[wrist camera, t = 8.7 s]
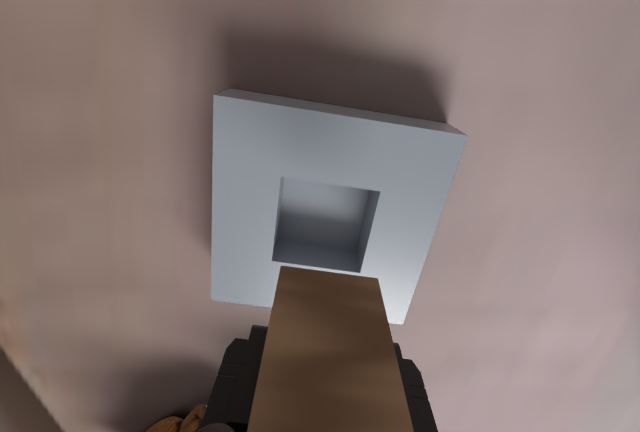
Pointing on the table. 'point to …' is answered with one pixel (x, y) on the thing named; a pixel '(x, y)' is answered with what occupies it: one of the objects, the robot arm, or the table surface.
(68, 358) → the table surface
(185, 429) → the wooden carving
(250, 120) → the holder
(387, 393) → the wooden block
